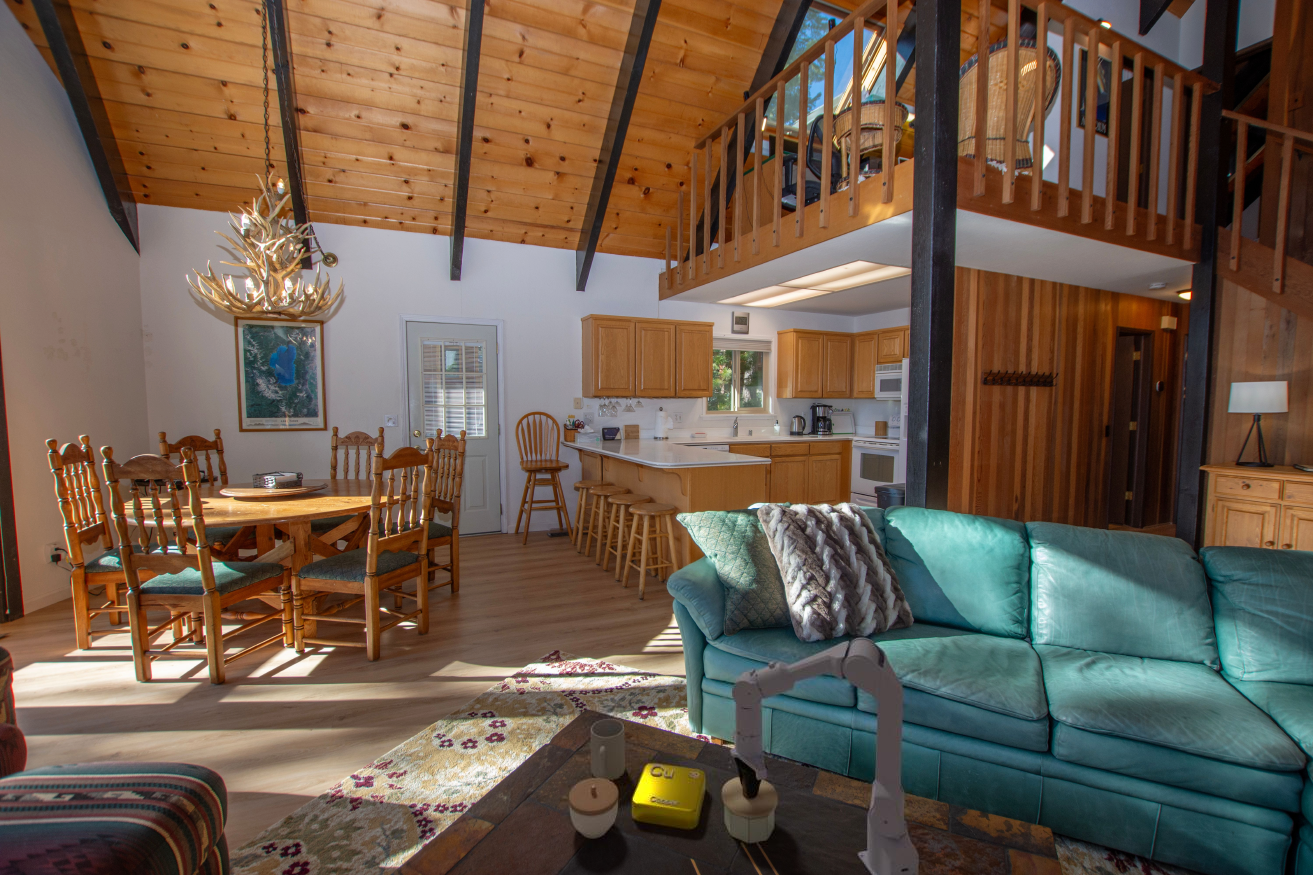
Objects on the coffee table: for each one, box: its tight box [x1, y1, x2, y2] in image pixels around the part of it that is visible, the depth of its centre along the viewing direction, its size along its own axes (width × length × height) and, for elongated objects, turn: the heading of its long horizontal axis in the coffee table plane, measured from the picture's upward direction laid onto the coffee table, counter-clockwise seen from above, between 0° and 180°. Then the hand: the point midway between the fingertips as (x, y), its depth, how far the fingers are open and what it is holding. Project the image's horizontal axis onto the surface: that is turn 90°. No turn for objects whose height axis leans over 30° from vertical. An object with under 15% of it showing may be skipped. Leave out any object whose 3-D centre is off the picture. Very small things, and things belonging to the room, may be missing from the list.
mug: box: [590, 718, 626, 781], centre depth 140 cm, size 12×8×11 cm
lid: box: [721, 776, 779, 818], centre depth 122 cm, size 12×12×4 cm
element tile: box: [631, 762, 706, 830], centre depth 130 cm, size 15×15×5 cm
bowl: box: [723, 805, 775, 844], centre depth 123 cm, size 10×10×5 cm
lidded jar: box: [568, 777, 619, 839], centre depth 122 cm, size 11×11×9 cm
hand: (749, 790), depth 122 cm, fingers closed on lid, 3 cm apart
